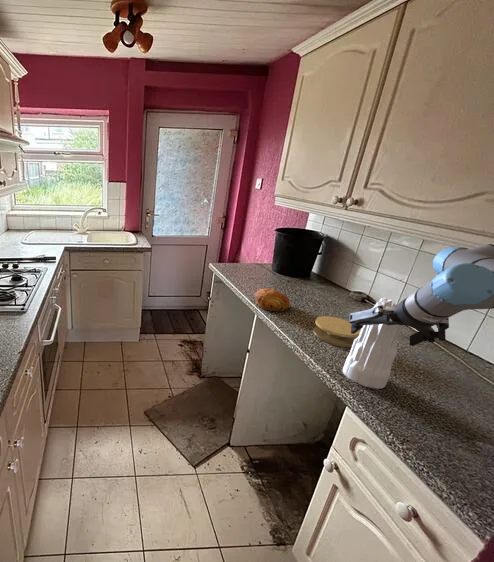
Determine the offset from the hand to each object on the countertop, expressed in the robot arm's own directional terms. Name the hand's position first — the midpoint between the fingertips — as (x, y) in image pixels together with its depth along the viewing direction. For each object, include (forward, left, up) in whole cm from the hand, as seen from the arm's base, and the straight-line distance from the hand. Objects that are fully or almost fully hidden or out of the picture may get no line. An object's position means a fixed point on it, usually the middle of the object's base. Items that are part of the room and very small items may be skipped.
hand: (381, 335), depth 88 cm
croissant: (+18, -48, -15) cm, 53 cm away
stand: (0, -25, -15) cm, 29 cm away
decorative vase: (0, -1, -15) cm, 15 cm away
